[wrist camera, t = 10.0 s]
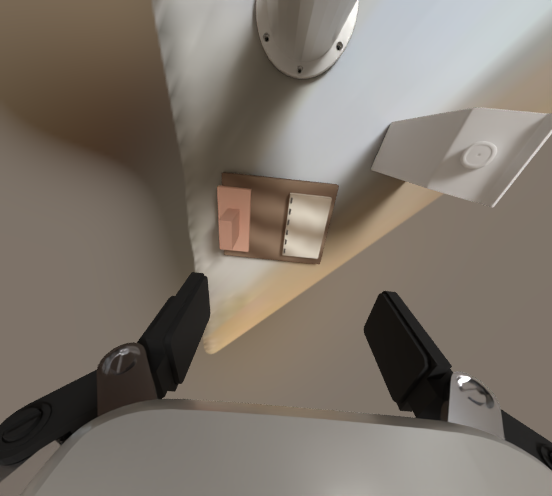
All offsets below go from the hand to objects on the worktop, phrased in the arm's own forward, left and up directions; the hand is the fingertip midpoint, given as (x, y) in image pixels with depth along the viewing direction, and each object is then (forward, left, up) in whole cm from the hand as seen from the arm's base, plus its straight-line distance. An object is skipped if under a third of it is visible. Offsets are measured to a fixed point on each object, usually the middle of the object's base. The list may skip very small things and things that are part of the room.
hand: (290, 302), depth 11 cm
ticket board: (+6, -1, -28) cm, 29 cm away
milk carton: (-8, +18, -28) cm, 35 cm away
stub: (+6, -9, -27) cm, 29 cm away
